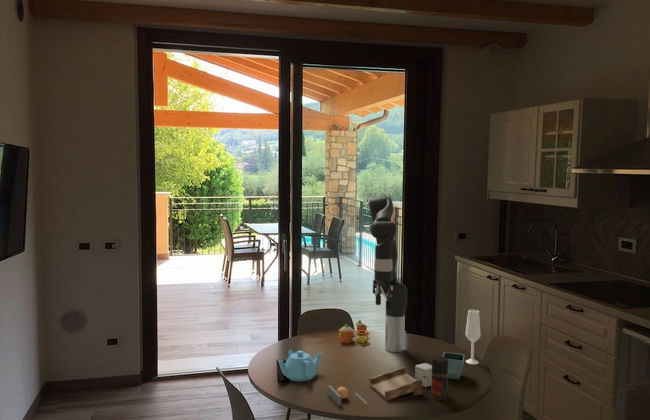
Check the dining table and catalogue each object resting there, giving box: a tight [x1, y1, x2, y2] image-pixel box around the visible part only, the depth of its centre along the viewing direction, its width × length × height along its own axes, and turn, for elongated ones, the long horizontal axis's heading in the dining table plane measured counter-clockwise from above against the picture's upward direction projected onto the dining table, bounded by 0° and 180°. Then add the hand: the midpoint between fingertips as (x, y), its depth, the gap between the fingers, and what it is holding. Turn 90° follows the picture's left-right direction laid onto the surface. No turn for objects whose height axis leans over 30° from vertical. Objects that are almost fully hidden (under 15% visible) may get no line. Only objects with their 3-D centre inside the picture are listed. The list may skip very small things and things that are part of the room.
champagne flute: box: [464, 309, 482, 365], centre depth 231 cm, size 7×7×24 cm
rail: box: [326, 384, 343, 407], centre depth 190 cm, size 1×11×4 cm, turn 21°
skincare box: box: [414, 362, 432, 388], centre depth 207 cm, size 6×6×7 cm
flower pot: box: [442, 351, 465, 380], centre depth 214 cm, size 9×9×9 cm
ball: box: [336, 386, 349, 400], centre depth 191 cm, size 4×4×4 cm
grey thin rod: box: [353, 392, 369, 405], centre depth 194 cm, size 1×15×1 cm, turn 22°
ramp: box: [368, 366, 423, 401], centre depth 200 cm, size 16×14×6 cm
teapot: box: [277, 349, 322, 382], centre depth 212 cm, size 15×15×11 cm
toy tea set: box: [338, 319, 370, 346], centre depth 265 cm, size 26×16×10 cm, turn 174°
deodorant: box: [430, 355, 448, 401], centre depth 194 cm, size 6×6×15 cm
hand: (383, 307), depth 213 cm, fingers open, 8 cm apart
